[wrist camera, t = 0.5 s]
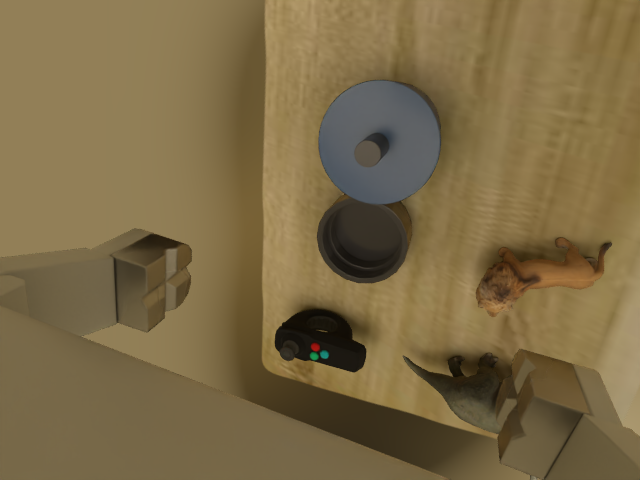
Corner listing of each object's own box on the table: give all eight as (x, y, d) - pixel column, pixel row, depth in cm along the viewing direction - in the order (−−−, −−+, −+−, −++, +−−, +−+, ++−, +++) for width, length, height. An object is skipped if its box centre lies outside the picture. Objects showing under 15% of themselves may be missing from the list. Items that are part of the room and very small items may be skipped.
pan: (336, 177, 54) (325, 187, 50) (422, 199, 52) (418, 211, 47) (322, 253, 59) (310, 268, 54) (400, 276, 56) (394, 294, 52)
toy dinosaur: (401, 344, 60) (388, 399, 50) (436, 304, 56) (430, 355, 46) (535, 434, 59) (549, 508, 49) (581, 398, 55) (606, 472, 45)
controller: (295, 296, 63) (267, 334, 54) (377, 319, 60) (362, 362, 51) (292, 321, 65) (265, 361, 56) (372, 343, 62) (356, 390, 53)
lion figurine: (481, 291, 54) (484, 330, 46) (468, 254, 53) (468, 288, 45) (615, 261, 48) (645, 300, 40) (603, 218, 47) (632, 250, 39)
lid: (332, 68, 41) (314, 69, 36) (457, 93, 39) (456, 97, 34) (313, 185, 46) (295, 200, 41) (422, 214, 44) (416, 233, 39)
